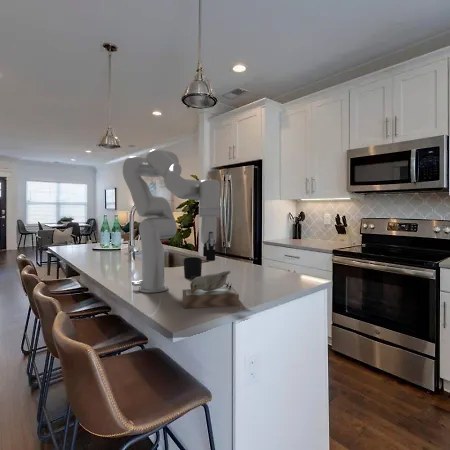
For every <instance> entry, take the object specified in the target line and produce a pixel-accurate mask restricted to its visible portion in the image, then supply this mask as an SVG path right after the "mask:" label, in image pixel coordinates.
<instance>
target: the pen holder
mask: <svg viewBox="0 0 450 450" xmlns="http://www.w3.org/2000/svg"><path fill="white" fill-rule="evenodd" d="M202 262H203V261H202V258H201V257H197V256H196V257H194V256H191V257H185V258H184V259H183V269H184V270H183V273H184V274H183V275H184V278H185V279H187V280H193V279H194V278H196V277H199V276H202V269H203V268H202V265H203V264H202Z"/></svg>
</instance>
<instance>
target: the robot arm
mask: <svg viewBox="0 0 450 450" xmlns="http://www.w3.org/2000/svg"><path fill="white" fill-rule="evenodd" d="M179 160H180V159H179V156H178V155H177V154H176V153H175V152H172V151H169V150H163V149H159V148H158V149H157V148H156V149H155V148H154V149H151V150H150V151H148V152H147V154H146V157H143V156H138V155H134V156H128V157H127V158H125V160H124V162H123V165H122V176H123V180H124V181H125V184H126V185H127V187H128V190H129V192H130V195H131V197H132V199H131V200H132V202H133V204H134V207H135V210H136V214H137V215H138V216H139V217H142V218H145V219H143V220H142V221H141V222H140V223H139V226H138V233H139V238H140V242H141V243H140V244H141V271H142V272H141V279H140V280H131V286H134V287H138V291H139V292H141V293H149V294H150V293H151V294H155V293H161V292H165V291H167V290H168V289H169V285H167V284H165V248H164V245H163V244H162V241H161V240H163V239H166V240H167V239H170V238H173V237H175V236H176V234H177V231H178V226H177V222H176V219H175V216H174V212H173V209H172V207H171V205H170V202H169V201H168V200H167V199H166V198H165V197H162V196H154V195H153V194H152V192H151V190H150V189H151V188H150V187H149V184H148V183H147V181H145V179H143V178H142V177H147V178H148V177H149V178H159V177H162V178H163V181H164V185H165V187H166V189H167V190H168V191H169V192H170V193H172V195H174V196H175V197H177V198H178V199H180V200H192V201H193V200H194V201H199V209H198V215H199V218H201V225H200V226H201V227H200V242H201V243H202V244H203V247H202V248H203V249H202V250H203V251H202V255H203V257H205V261H206V262H214V261H216V243H217V228H218V227H217V218H220V203H221V202H220V201H221V200H220V198H221V197H220V196H221V195H220V194H221V192H220V190H221V186H220V181H219V180H217V179H202V180H197V179H196V180H195V179H187V178H184V177H182V176H181V174H182V167H181V164H180V161H179Z"/></svg>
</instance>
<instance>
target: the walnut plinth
mask: <svg viewBox="0 0 450 450" xmlns="http://www.w3.org/2000/svg"><path fill="white" fill-rule="evenodd" d="M182 304H183V309H196V308H197V309H198V308H216V307H217V308H218V307H231V306H232V307H234V306H239V305H240V294H239V293H238V292H237V290H236V289H235V288H234V287H232V286H231V290H230V289H229V287H228V288H226V287H221V288H218V289H216V290H212V291H203V290H201V289H198V290H196V291H194V292H193V293H191V288H190V289H189V288H187V289H182Z"/></svg>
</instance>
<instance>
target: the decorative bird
mask: <svg viewBox="0 0 450 450" xmlns="http://www.w3.org/2000/svg"><path fill="white" fill-rule="evenodd" d="M229 274H231V269H230V270H225V271H221V272H218V273H211V274H205V275H201V276H199V277H196V278H194V279H191V283H190V289H191V293H193V292H194V291H196V290H198V289H201V290H203V291H212V290H216V289H218V288H223V287H224V285H226V286H225V288H229V289H230V290H231V287H232V285H233V284H232V283H231V284H229V281H228V283H226V282H227V279H228V275H229Z"/></svg>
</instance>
